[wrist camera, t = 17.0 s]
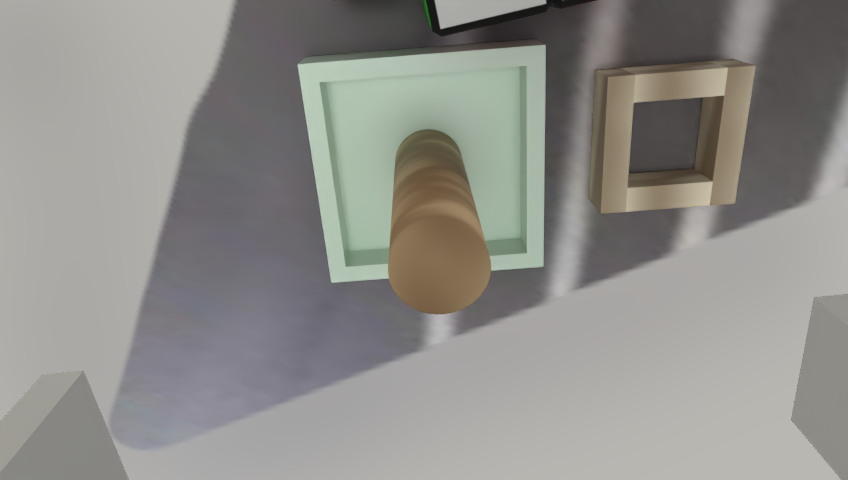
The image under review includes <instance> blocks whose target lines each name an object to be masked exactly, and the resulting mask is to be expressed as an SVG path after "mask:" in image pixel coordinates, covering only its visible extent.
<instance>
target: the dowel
mask: <svg viewBox="0 0 848 480" xmlns="http://www.w3.org/2000/svg"><path fill="white" fill-rule="evenodd" d="M490 274H491V260H490V256H489V252H488V249H487V245H486V242H485V238H484V235H483V231H482V227H481V224H480V220H479V217H478V213H477V210H476V206H475V202H474V199H473V195H472V192H471V188H470V184H469V181H468V177H467V174H466V170H465V167H464V163H463V159H462V156H461V152H460V150H459V147H458V145H457V144H456V142H455V141H454V140H453V139H452V138H451V137H450V136H448V135H447V134H445V133H443V132H441V131H438V130H432V129H425V130H420V131H417V132H414V133H412V134H411V135H409V136H408V137H407V138H405V139H404V140H403V142H402V143H401V144H400V146H399V148H398V150H397V153H396V158H395V171H394V186H393V201H392V216H391V231H390V246H389V261H388V275H389V280H390V283H391V286H392V288H393V290H394V292H395V293H396V294H397V296H398V297H399V298H400V299H401V300H402V301H403V302H404V303H406V304H407V305H408V306H410V307H412V308H414V309H416V310H418V311H421V312H425V313H429V314H447V313H452V312H456V311H459V310H461V309H463V308H465V307H467V306H469V305H470V304H472V303H473V302H474V301H475V300H477V299H478V298H479V296H480V295H481V294H482V293H483V291H484V290H485V288H486V286H487V284H488V282H489V279H490Z"/></svg>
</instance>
